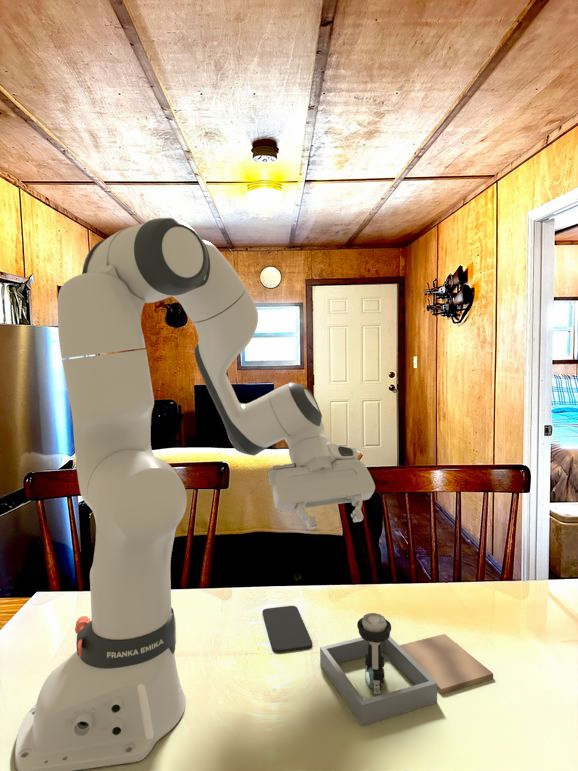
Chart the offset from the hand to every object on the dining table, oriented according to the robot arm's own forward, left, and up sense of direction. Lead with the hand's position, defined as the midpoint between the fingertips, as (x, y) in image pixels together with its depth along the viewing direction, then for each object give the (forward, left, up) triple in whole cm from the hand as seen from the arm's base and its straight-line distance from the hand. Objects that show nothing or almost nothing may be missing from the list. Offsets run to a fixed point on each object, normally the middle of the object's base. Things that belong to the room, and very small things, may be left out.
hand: (336, 524), depth 87 cm
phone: (-8, +6, -22) cm, 24 cm away
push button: (0, -14, -21) cm, 25 cm away
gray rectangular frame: (0, -14, -21) cm, 25 cm away
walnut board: (+13, -14, -21) cm, 28 cm away
